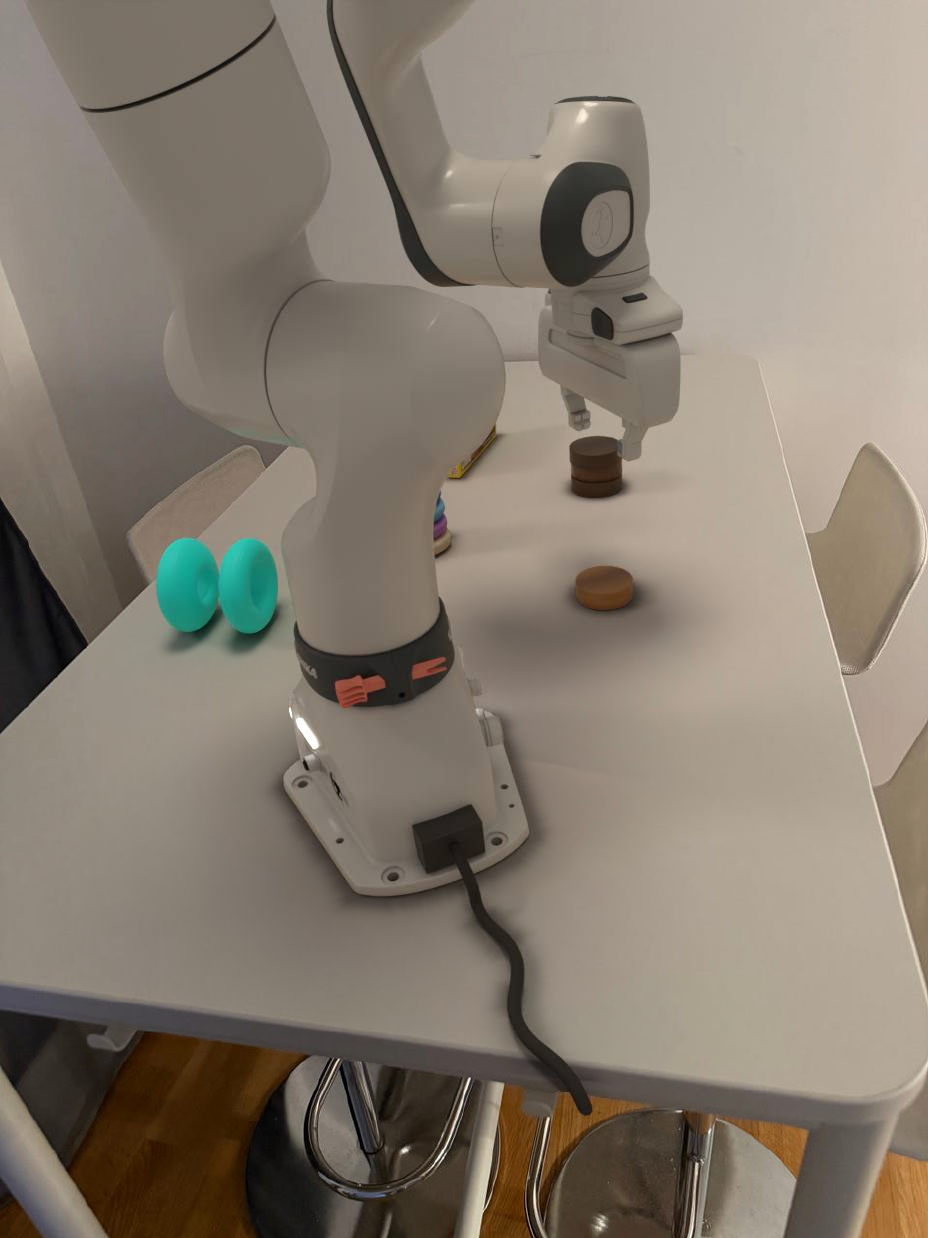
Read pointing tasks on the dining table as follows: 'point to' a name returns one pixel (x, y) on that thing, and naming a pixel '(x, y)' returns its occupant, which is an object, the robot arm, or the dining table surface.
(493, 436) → the candy box
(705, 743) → the dining table surface
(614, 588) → the oak chip
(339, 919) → the dining table surface
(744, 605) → the dining table surface
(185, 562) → the donuts
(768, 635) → the dining table surface
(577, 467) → the chip pile
